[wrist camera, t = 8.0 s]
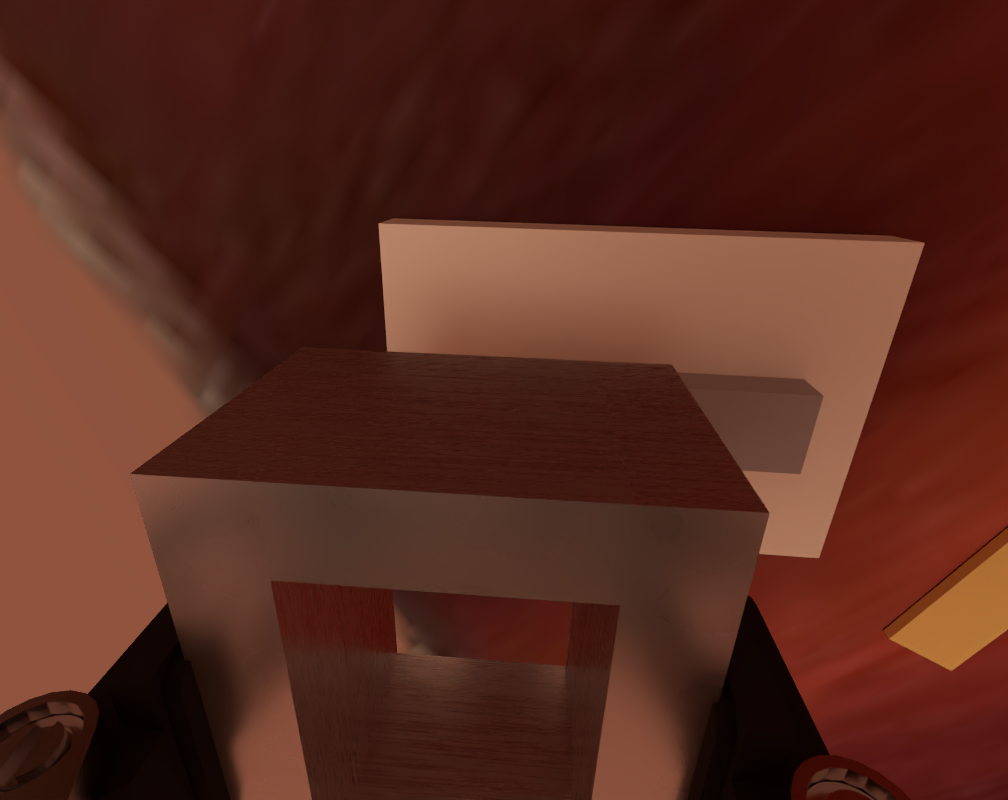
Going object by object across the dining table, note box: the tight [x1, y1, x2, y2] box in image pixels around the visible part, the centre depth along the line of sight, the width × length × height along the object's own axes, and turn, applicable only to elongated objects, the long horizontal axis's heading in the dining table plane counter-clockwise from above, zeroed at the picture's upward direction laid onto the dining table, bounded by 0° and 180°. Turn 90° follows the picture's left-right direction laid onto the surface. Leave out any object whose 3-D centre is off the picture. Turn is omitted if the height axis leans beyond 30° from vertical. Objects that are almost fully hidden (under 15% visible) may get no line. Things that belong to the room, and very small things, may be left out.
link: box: [130, 347, 770, 800], centre depth 8 cm, size 6×8×4 cm
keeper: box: [379, 218, 925, 558], centre depth 15 cm, size 14×10×6 cm
